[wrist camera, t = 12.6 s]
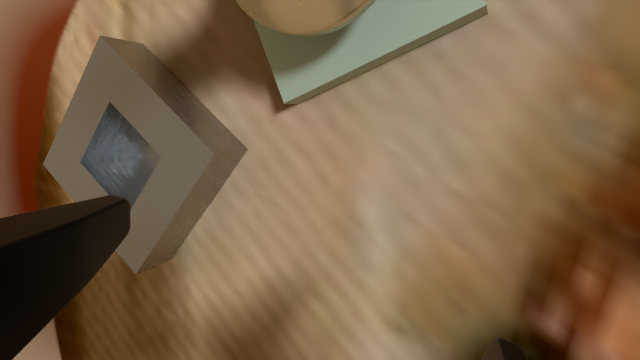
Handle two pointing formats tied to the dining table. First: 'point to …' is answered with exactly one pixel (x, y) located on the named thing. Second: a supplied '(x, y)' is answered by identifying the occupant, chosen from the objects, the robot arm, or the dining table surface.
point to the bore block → (142, 149)
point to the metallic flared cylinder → (305, 14)
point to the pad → (359, 43)
